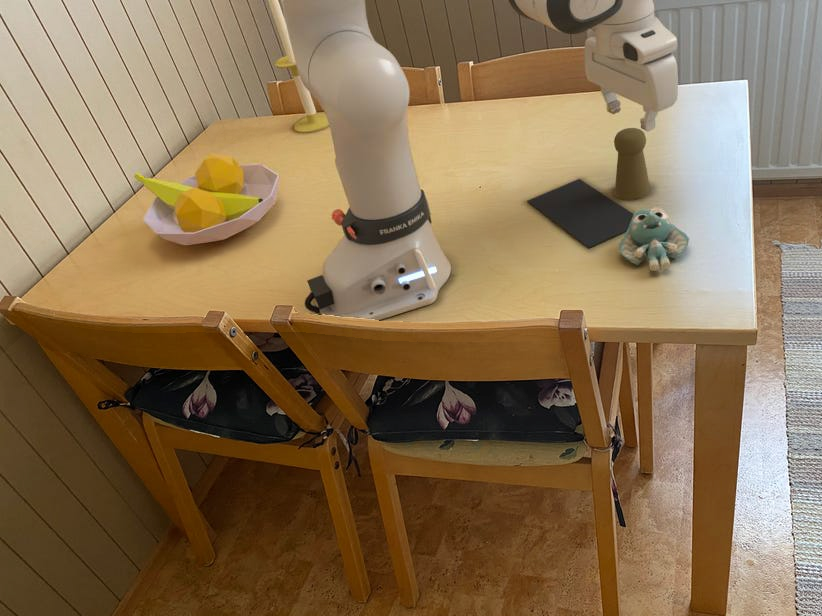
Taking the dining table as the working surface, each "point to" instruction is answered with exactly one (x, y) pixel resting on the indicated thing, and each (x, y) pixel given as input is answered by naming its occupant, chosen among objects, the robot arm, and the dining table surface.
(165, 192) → the fruit bowl
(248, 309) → the dining table surface
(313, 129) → the candle
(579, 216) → the mat
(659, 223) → the stuffed animal
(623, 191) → the cork
